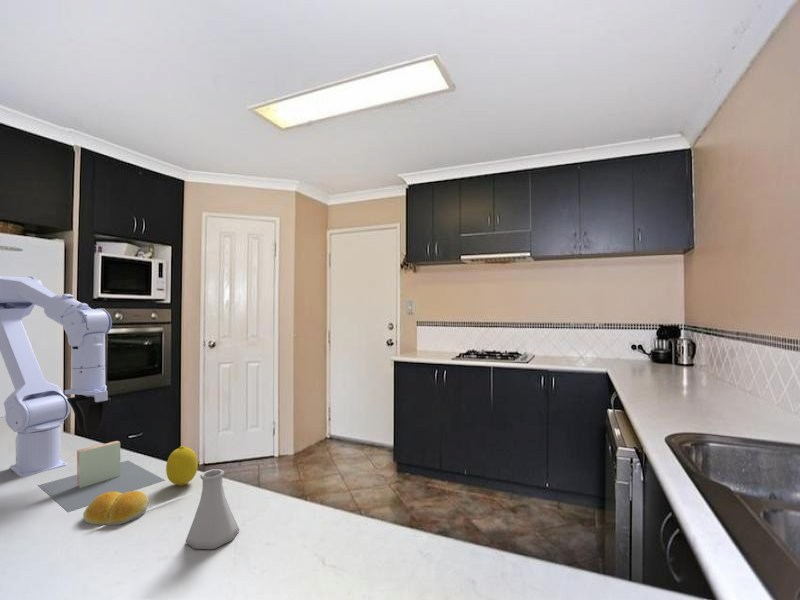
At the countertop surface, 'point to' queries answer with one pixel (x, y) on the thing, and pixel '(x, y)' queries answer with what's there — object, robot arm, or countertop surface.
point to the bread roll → (116, 508)
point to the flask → (212, 515)
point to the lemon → (181, 466)
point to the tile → (98, 463)
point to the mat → (98, 486)
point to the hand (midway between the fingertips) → (89, 431)
